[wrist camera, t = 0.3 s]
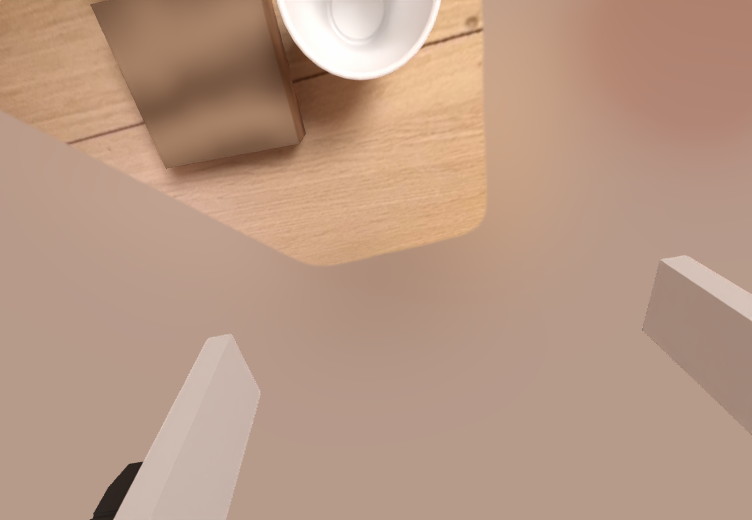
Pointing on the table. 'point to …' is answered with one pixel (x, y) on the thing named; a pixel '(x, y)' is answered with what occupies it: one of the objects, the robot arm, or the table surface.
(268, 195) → the table surface
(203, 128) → the walnut block
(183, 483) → the robot arm
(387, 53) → the cup
